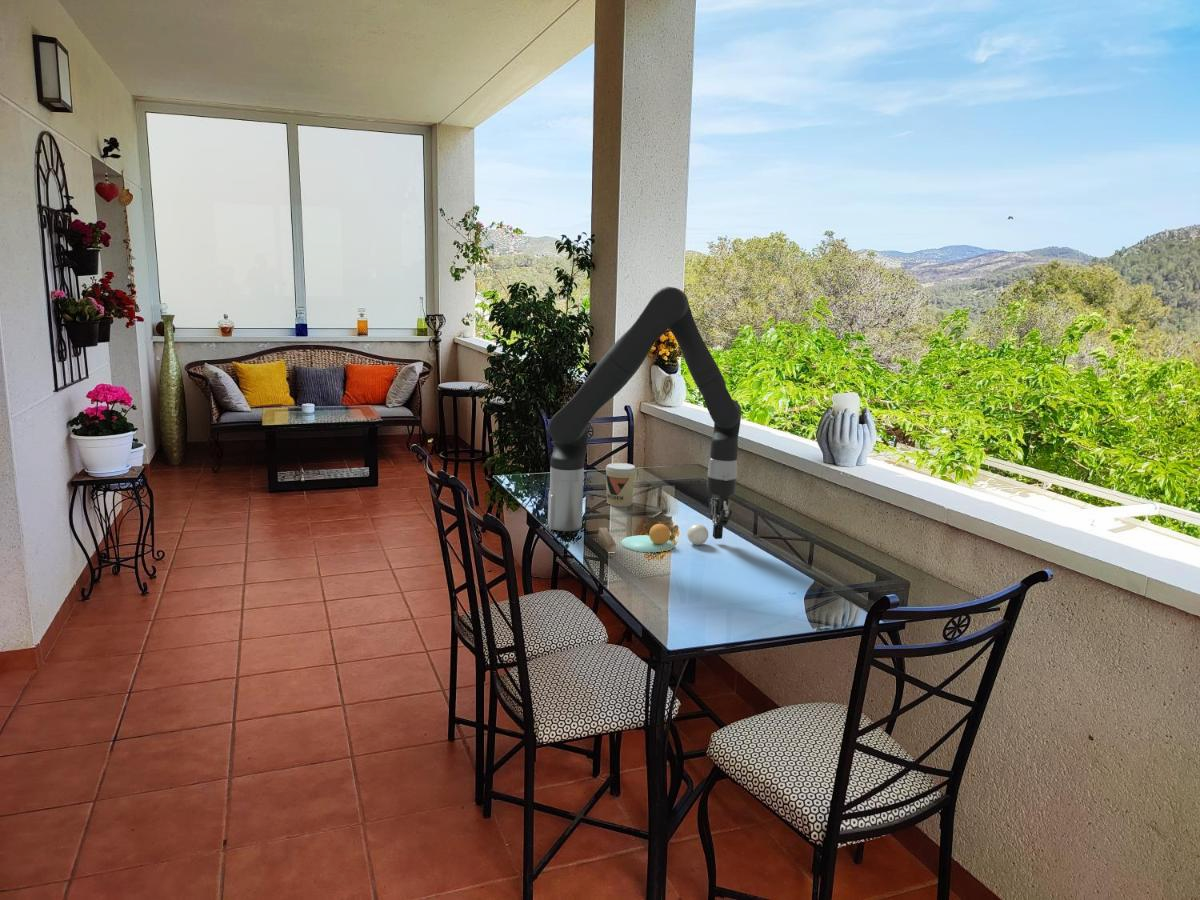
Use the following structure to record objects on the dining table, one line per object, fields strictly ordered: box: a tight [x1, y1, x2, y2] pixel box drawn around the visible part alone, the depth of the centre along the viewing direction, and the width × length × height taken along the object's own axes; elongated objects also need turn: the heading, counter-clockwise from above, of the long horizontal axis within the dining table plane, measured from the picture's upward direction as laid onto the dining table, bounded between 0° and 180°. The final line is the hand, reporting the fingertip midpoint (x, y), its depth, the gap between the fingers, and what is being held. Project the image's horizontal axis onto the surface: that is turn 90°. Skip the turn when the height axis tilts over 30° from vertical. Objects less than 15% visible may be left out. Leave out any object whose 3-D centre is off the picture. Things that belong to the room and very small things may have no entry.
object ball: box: [648, 523, 671, 545], centre depth 208 cm, size 6×6×6 cm
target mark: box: [620, 534, 675, 554], centre depth 208 cm, size 14×14×1 cm
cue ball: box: [686, 523, 709, 546], centre depth 209 cm, size 6×6×6 cm
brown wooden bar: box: [598, 527, 617, 553], centre depth 206 cm, size 2×14×2 cm, turn 10°
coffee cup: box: [605, 462, 637, 508], centre depth 245 cm, size 9×9×12 cm
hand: (717, 537), depth 211 cm, fingers closed
